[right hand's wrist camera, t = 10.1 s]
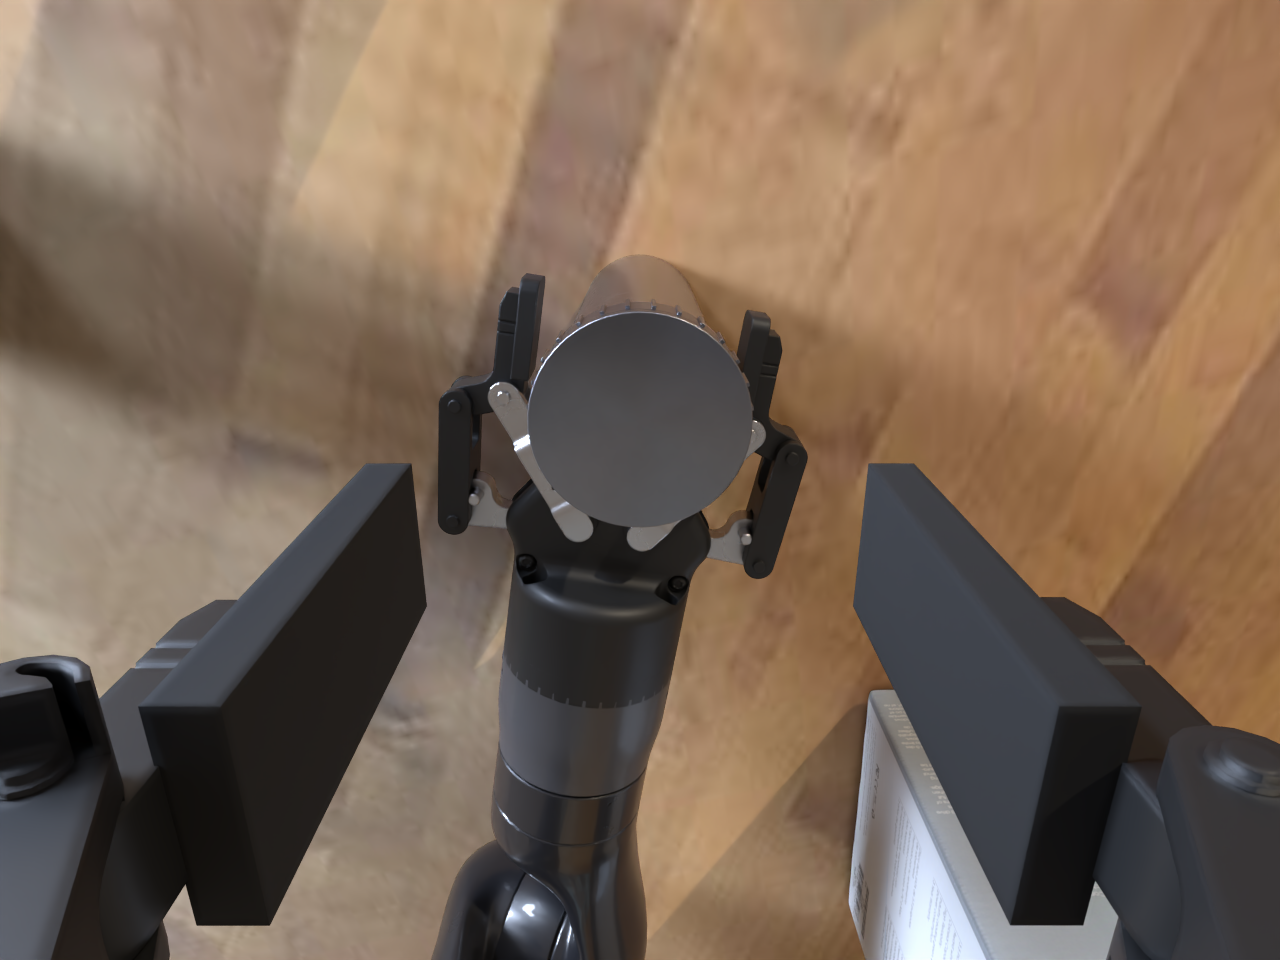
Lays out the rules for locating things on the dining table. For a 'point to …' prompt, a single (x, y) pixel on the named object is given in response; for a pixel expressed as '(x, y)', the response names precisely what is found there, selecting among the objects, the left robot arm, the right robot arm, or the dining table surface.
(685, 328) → the lid
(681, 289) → the grey metal cylinder
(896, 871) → the hard drive box
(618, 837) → the left robot arm
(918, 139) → the dining table surface
